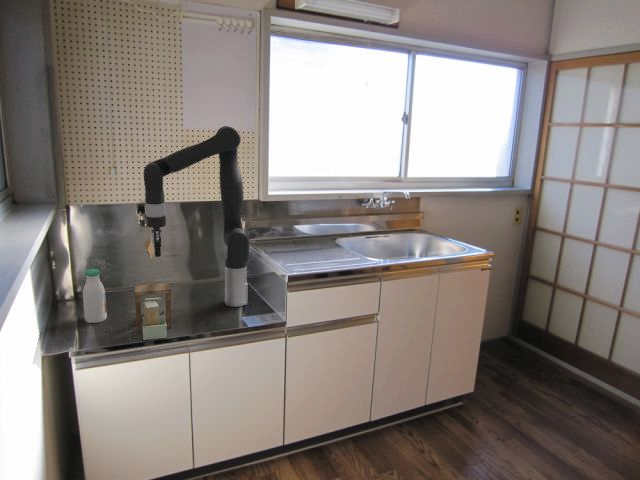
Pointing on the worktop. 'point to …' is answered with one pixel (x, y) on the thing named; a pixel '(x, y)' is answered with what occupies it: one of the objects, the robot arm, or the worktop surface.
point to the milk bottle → (94, 298)
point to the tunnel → (153, 290)
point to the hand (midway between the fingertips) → (157, 256)
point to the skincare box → (151, 313)
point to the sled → (155, 330)
